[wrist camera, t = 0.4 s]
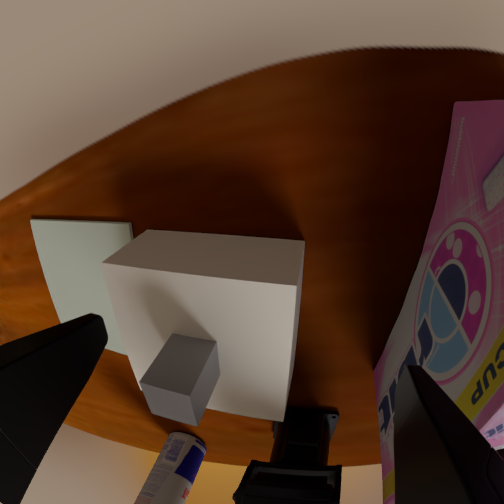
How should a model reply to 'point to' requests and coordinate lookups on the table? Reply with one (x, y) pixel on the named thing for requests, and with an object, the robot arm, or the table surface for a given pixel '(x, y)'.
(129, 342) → the cover
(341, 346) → the table surface
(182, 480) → the beverage can
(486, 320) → the gum box
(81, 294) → the mat
